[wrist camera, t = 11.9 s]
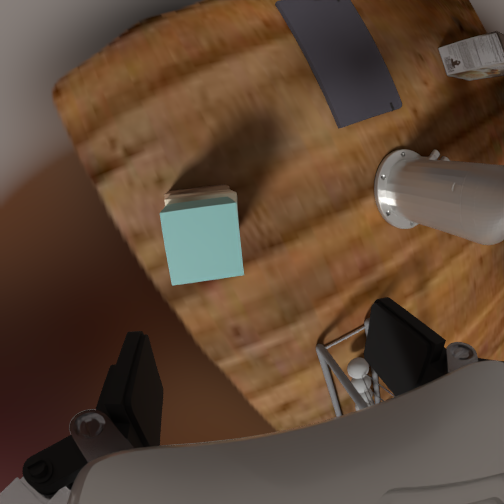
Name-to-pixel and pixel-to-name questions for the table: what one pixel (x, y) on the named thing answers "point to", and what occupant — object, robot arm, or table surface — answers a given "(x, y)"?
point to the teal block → (202, 240)
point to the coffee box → (475, 57)
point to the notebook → (342, 58)
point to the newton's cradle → (356, 370)
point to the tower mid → (201, 196)
